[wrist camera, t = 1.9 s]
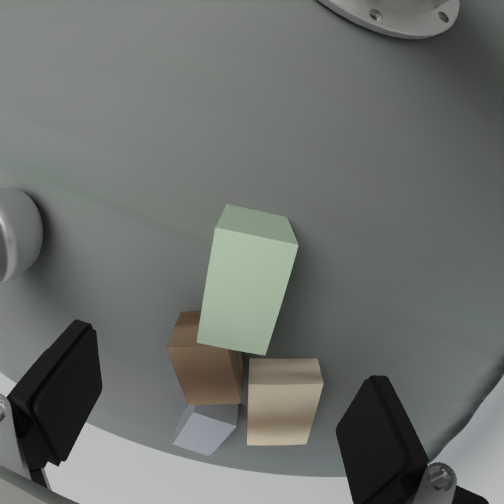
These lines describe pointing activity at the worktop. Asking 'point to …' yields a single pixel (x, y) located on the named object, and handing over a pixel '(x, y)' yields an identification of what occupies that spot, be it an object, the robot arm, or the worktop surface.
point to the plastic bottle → (18, 233)
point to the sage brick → (246, 279)
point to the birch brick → (282, 400)
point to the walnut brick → (204, 365)
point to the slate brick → (205, 427)
